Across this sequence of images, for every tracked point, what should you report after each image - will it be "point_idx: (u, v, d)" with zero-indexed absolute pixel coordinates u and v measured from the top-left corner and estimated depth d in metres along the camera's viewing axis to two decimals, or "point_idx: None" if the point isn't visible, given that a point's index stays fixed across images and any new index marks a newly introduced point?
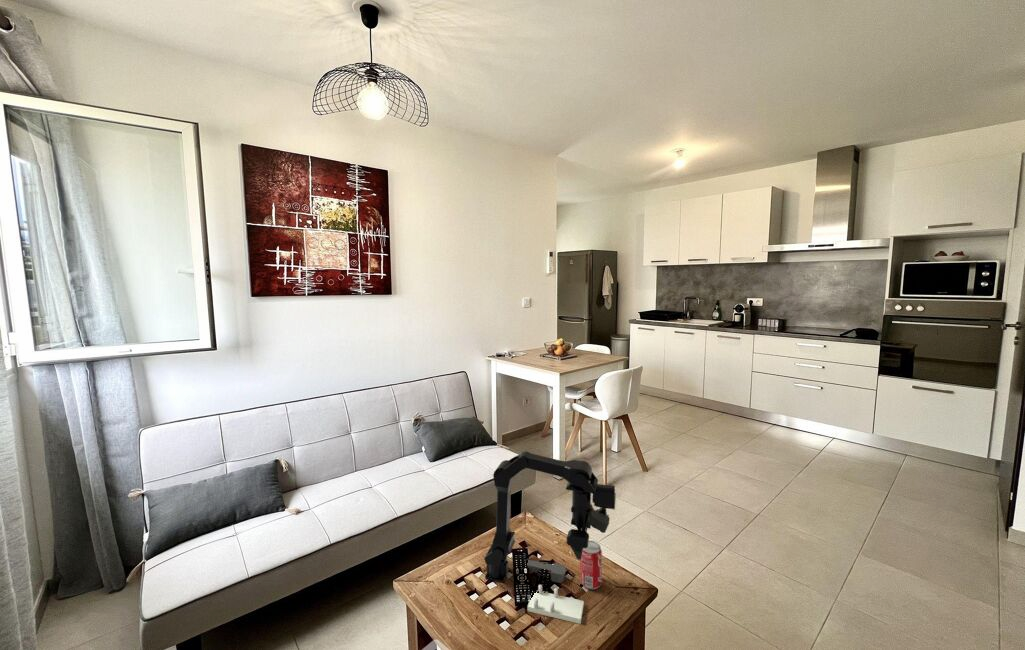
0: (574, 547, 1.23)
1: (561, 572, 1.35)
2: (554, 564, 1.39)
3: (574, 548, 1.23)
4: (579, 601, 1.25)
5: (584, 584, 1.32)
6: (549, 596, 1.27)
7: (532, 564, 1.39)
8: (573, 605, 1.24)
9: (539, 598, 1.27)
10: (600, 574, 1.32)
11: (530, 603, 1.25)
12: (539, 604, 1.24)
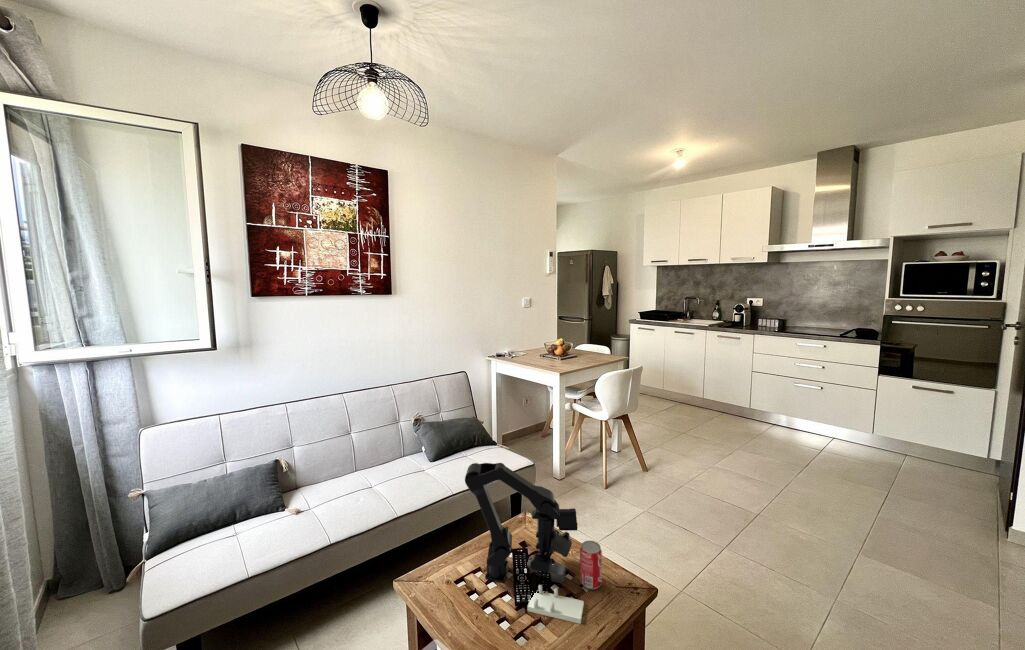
0: None
1: (561, 572, 1.35)
2: (554, 563, 1.39)
3: None
4: (579, 601, 1.25)
5: (584, 584, 1.32)
6: (549, 596, 1.27)
7: None
8: (573, 605, 1.24)
9: (539, 598, 1.27)
10: (600, 574, 1.32)
11: (530, 603, 1.25)
12: (539, 604, 1.24)
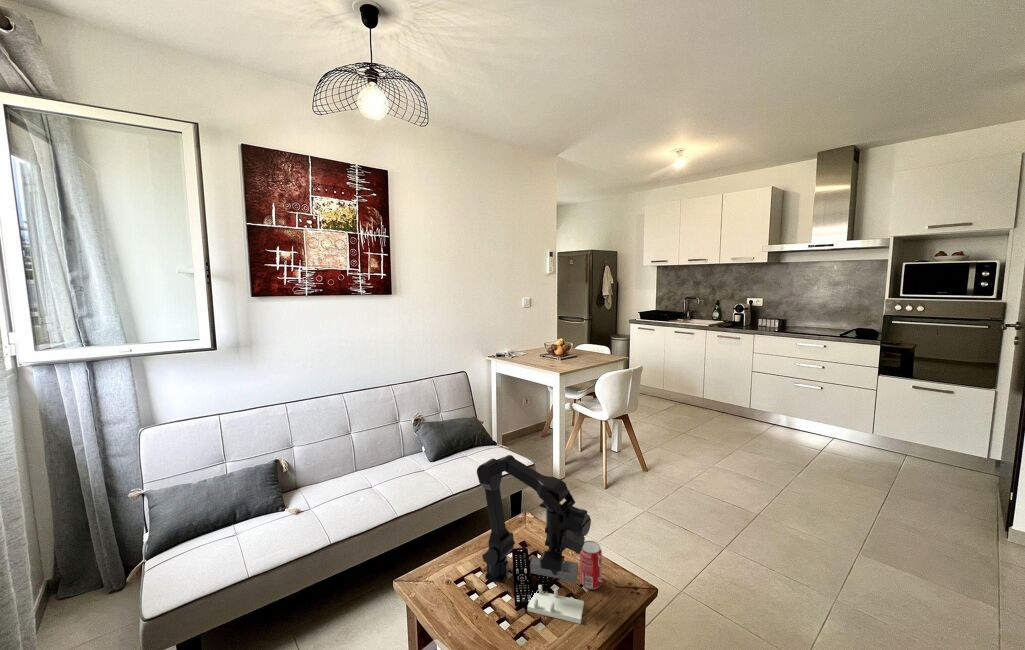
0: None
1: (574, 571, 1.21)
2: (566, 562, 1.25)
3: None
4: (579, 601, 1.25)
5: (584, 584, 1.32)
6: (549, 596, 1.27)
7: None
8: (573, 605, 1.24)
9: (539, 598, 1.27)
10: (600, 574, 1.32)
11: (530, 603, 1.25)
12: (539, 604, 1.24)
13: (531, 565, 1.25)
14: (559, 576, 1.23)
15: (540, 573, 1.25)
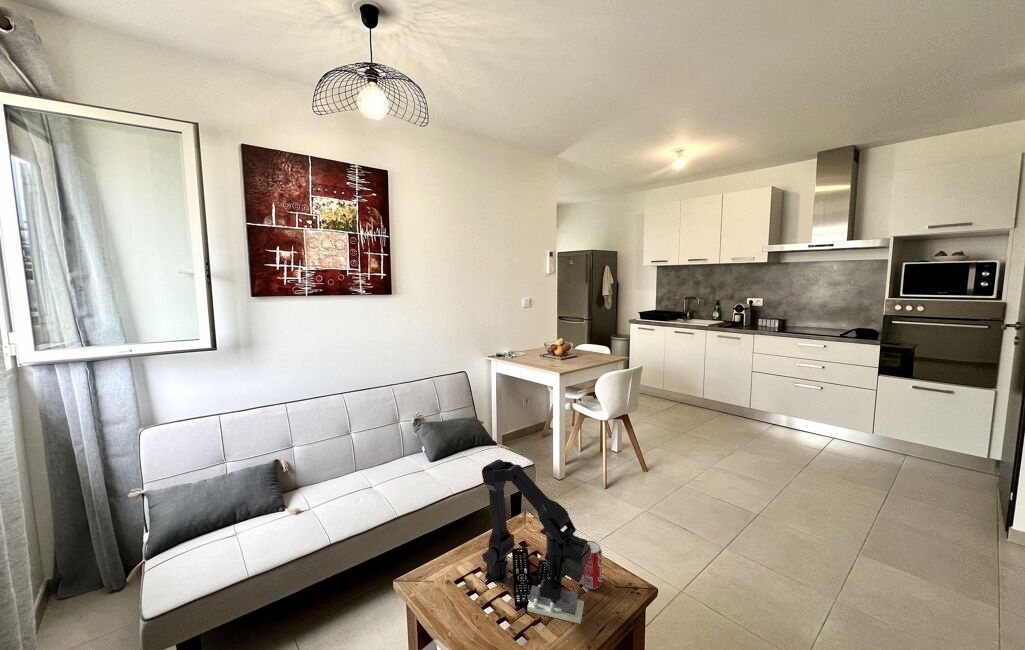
0: None
1: (573, 602, 1.21)
2: (566, 591, 1.25)
3: None
4: (579, 601, 1.25)
5: (584, 584, 1.32)
6: None
7: None
8: None
9: None
10: (600, 574, 1.32)
11: (530, 603, 1.25)
12: (539, 604, 1.24)
13: (531, 594, 1.25)
14: (558, 606, 1.23)
15: (539, 602, 1.24)
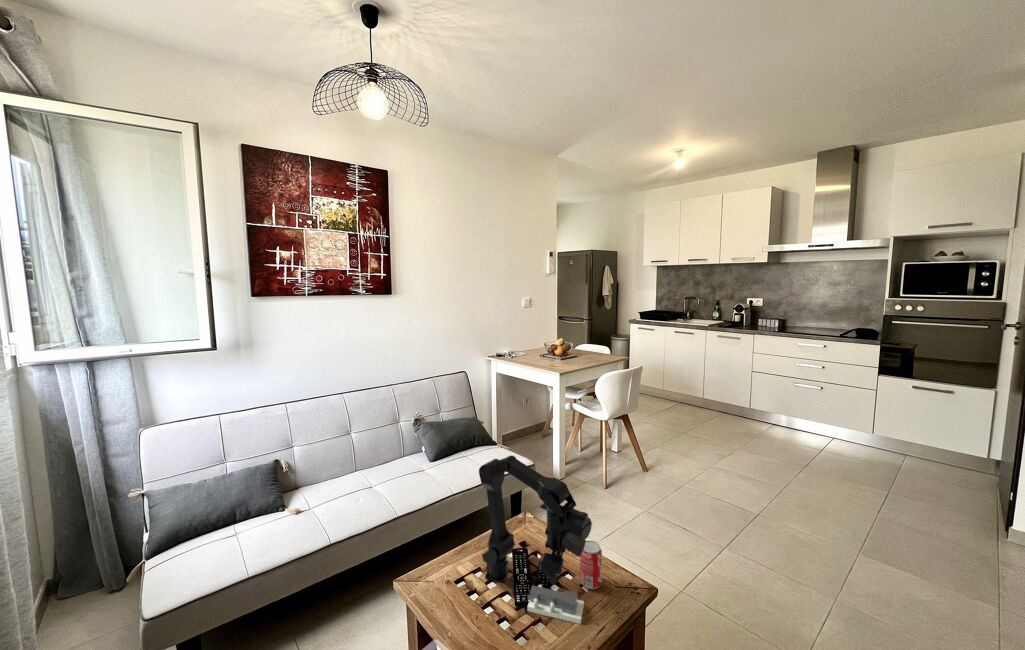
0: (548, 572, 1.17)
1: (573, 602, 1.21)
2: (566, 591, 1.25)
3: (548, 573, 1.17)
4: (579, 601, 1.25)
5: (584, 584, 1.32)
6: None
7: (541, 592, 1.25)
8: None
9: None
10: (600, 574, 1.32)
11: (530, 603, 1.25)
12: (539, 604, 1.24)
13: (531, 594, 1.25)
14: (558, 606, 1.23)
15: (539, 602, 1.24)
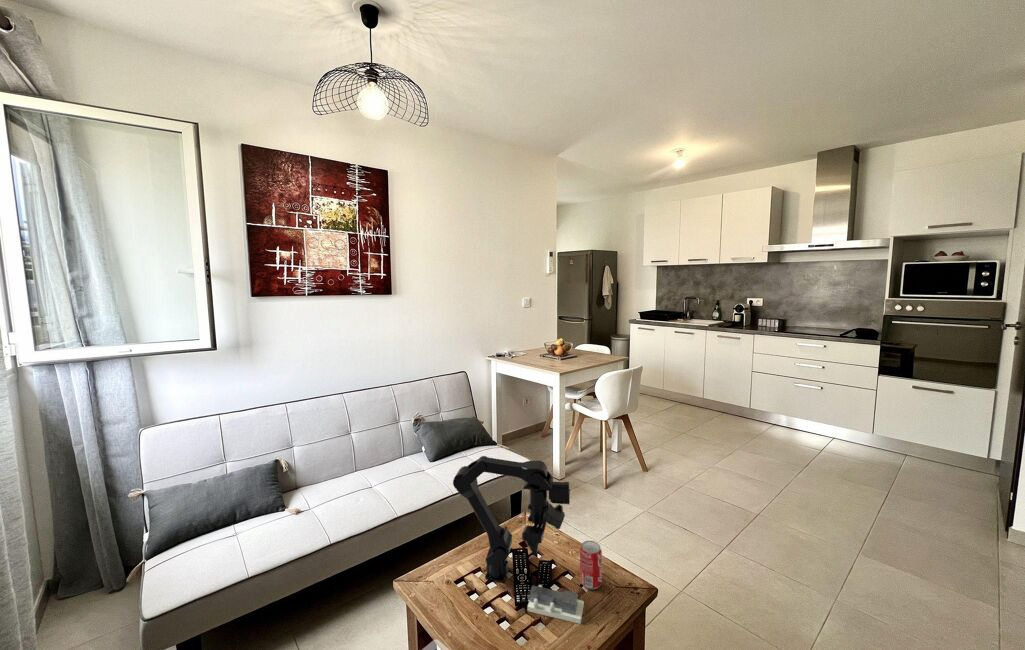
0: (530, 542, 1.30)
1: (573, 602, 1.21)
2: (566, 591, 1.25)
3: (530, 543, 1.30)
4: (579, 601, 1.25)
5: (584, 584, 1.32)
6: None
7: (541, 592, 1.25)
8: None
9: None
10: (600, 574, 1.32)
11: (530, 603, 1.25)
12: (539, 604, 1.24)
13: (531, 594, 1.25)
14: (558, 606, 1.23)
15: (539, 602, 1.24)
